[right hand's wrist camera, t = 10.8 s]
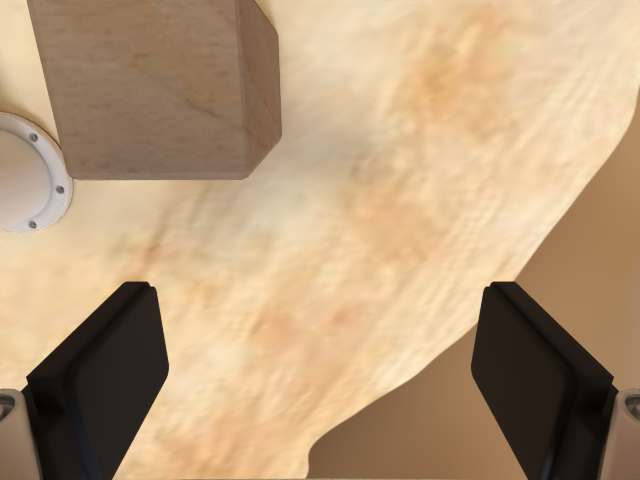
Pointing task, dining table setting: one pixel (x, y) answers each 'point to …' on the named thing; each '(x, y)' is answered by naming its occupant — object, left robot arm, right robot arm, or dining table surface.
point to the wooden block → (160, 86)
